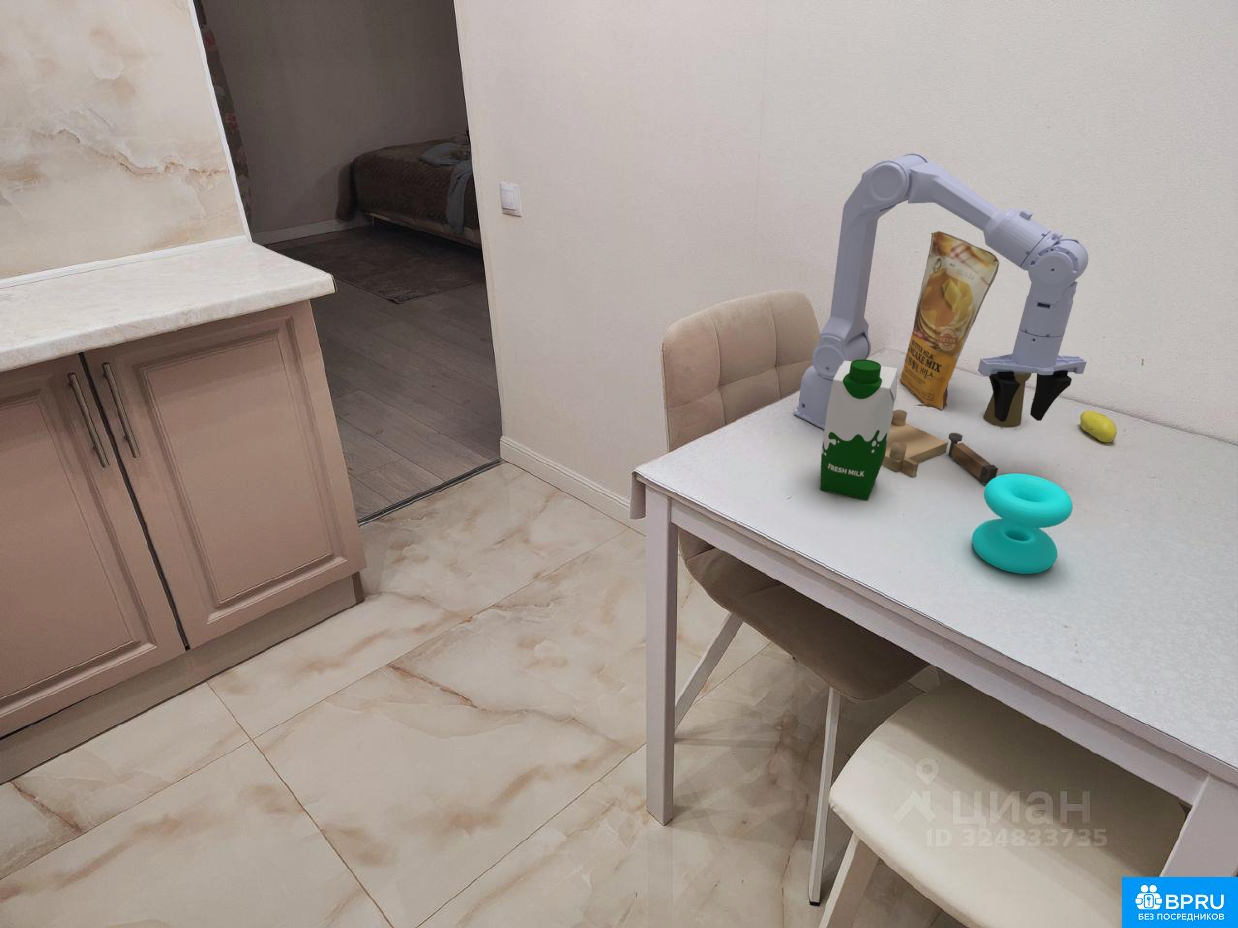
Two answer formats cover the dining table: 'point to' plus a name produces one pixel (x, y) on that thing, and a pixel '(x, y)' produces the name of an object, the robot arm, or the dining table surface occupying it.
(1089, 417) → the lemon
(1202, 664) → the dining table surface
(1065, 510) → the donuts
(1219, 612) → the dining table surface
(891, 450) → the stool seat
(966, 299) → the pancake mix bag
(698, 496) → the dining table surface
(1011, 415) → the cork
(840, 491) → the milk carton
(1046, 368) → the robot arm
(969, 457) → the hinged leg
